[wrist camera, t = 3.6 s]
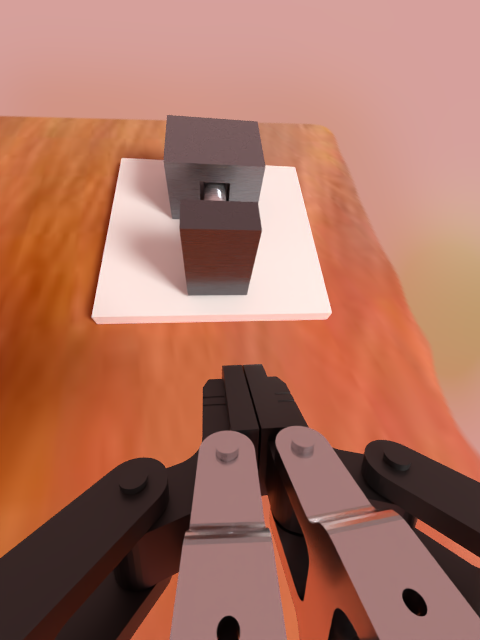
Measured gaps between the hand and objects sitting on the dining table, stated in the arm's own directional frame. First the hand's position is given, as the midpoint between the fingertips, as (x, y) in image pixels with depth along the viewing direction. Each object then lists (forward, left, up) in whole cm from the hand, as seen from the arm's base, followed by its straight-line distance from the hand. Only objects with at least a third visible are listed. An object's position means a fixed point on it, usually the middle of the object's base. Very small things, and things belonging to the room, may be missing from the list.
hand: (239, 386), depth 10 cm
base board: (0, +22, -15) cm, 27 cm away
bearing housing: (0, +27, -14) cm, 31 cm away
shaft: (0, +22, -13) cm, 26 cm away
